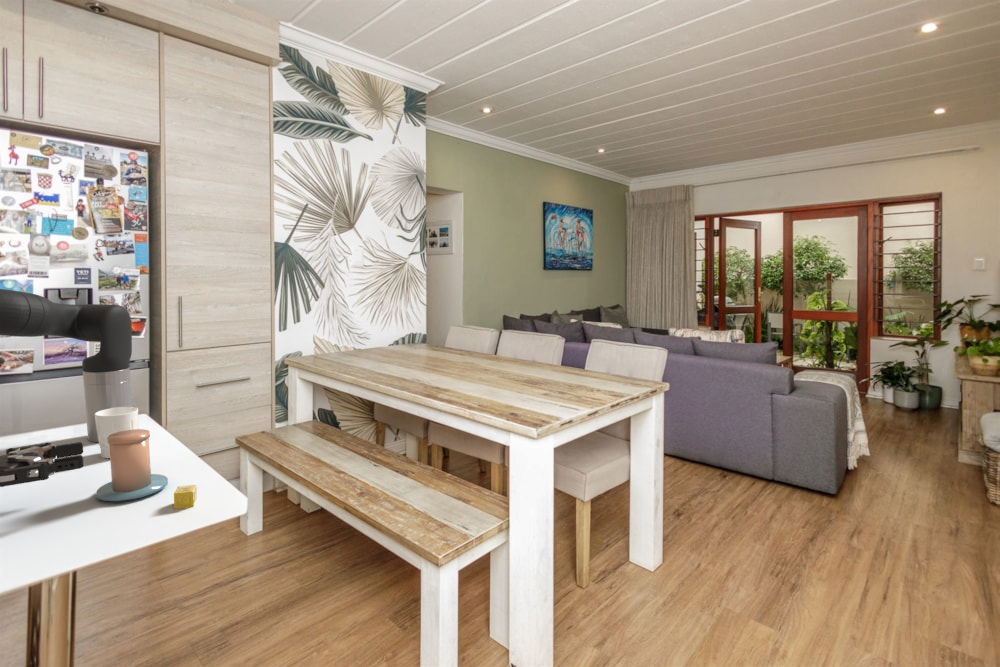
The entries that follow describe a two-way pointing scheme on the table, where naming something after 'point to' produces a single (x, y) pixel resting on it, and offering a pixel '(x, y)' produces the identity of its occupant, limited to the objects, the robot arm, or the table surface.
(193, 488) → the alphabet block
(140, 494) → the blue-grey round disc
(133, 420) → the white cup
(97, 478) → the table surface
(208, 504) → the table surface
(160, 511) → the table surface
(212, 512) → the table surface
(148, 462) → the dome-topped peach cylinder
